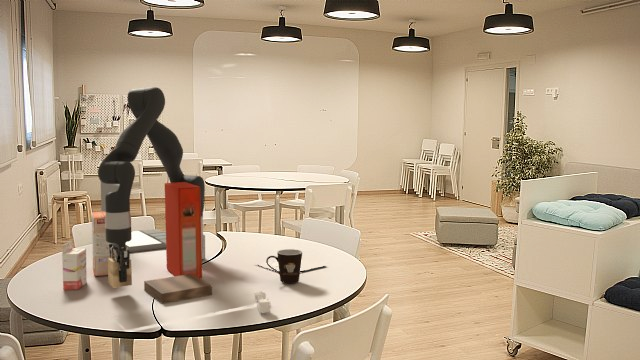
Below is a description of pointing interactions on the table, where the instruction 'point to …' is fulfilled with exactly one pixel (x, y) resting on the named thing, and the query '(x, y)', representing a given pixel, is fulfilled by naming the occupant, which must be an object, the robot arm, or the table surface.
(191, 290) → the walnut base
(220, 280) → the table surface
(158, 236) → the laptop
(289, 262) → the coffee mug
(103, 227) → the cracker box
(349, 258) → the table surface
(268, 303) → the game pieces
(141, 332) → the table surface
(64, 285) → the ink cartridge box
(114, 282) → the oak block
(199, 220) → the file binder
